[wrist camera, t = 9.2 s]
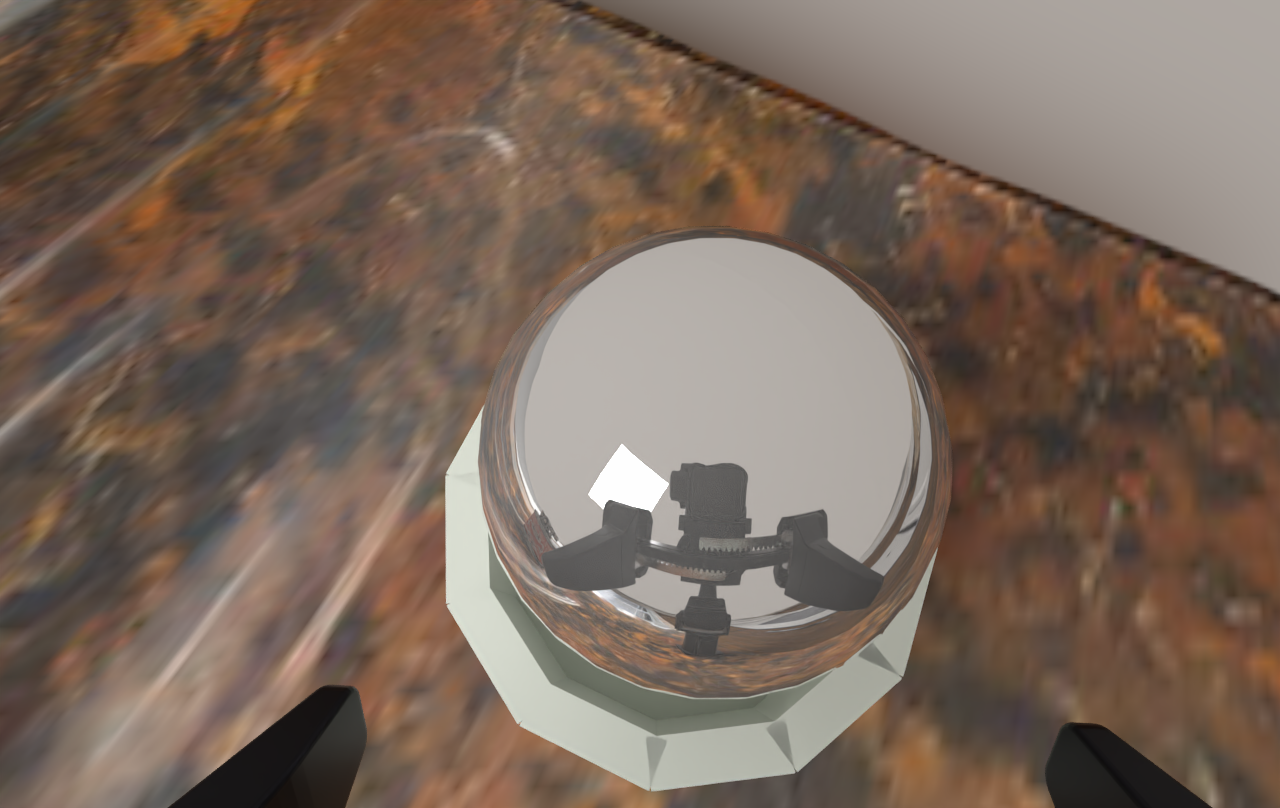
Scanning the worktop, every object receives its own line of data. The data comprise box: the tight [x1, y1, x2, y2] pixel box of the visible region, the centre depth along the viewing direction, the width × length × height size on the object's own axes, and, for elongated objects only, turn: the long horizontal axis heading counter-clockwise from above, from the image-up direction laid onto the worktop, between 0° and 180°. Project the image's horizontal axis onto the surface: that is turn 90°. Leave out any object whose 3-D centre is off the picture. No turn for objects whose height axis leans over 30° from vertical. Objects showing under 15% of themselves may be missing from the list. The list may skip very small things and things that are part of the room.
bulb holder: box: [446, 404, 938, 791], centre depth 17 cm, size 12×12×4 cm
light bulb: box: [477, 226, 953, 700], centre depth 12 cm, size 7×7×12 cm
